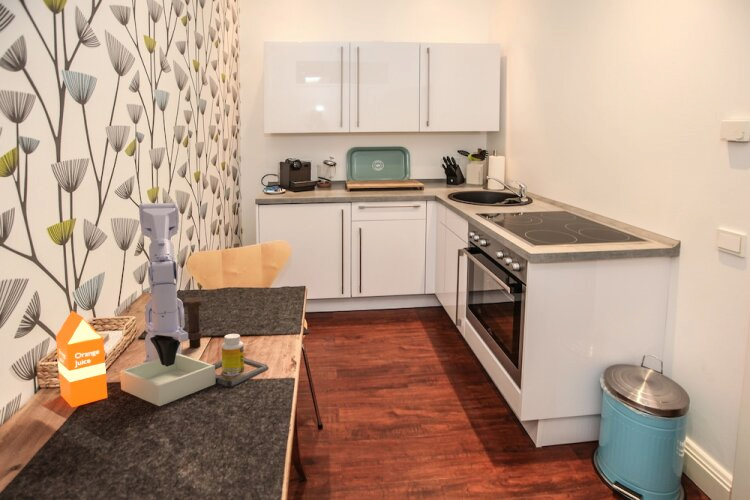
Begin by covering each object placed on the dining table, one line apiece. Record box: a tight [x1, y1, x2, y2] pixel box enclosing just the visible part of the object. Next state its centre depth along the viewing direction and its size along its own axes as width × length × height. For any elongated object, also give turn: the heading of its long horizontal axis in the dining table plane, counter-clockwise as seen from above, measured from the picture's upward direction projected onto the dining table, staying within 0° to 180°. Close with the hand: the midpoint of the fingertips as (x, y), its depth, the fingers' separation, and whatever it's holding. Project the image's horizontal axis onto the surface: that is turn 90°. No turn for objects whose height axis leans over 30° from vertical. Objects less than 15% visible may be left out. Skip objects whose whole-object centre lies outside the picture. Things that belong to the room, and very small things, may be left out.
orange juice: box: [55, 310, 108, 408], centre depth 123 cm, size 8×9×20 cm
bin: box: [119, 353, 217, 407], centre depth 130 cm, size 16×16×5 cm
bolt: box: [182, 297, 204, 349], centre depth 157 cm, size 6×5×15 cm
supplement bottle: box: [220, 333, 245, 377], centre depth 139 cm, size 6×6×10 cm
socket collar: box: [211, 357, 270, 387], centre depth 139 cm, size 13×13×2 cm
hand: (167, 364), depth 130 cm, fingers closed
